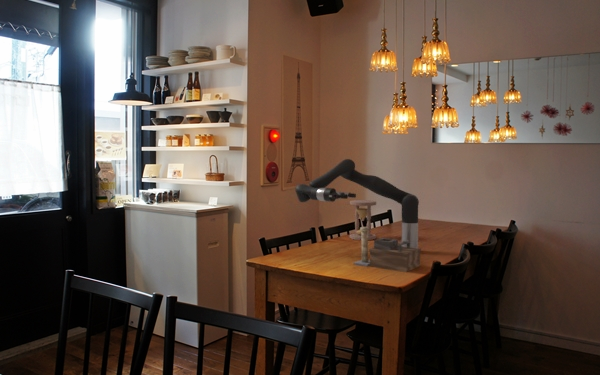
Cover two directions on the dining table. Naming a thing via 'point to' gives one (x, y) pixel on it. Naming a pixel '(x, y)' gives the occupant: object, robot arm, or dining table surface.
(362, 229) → the pin
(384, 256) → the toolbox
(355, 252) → the dining table surface
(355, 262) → the mat
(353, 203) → the hourglass
